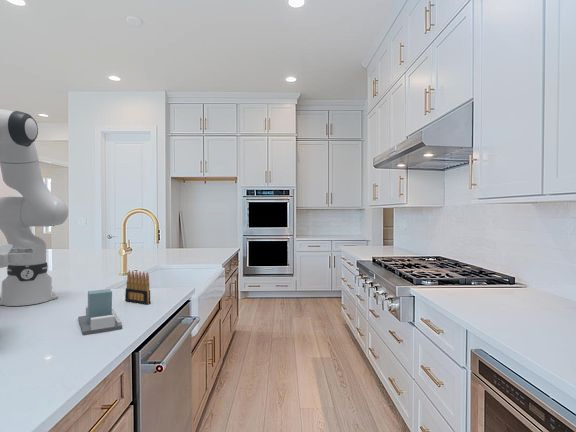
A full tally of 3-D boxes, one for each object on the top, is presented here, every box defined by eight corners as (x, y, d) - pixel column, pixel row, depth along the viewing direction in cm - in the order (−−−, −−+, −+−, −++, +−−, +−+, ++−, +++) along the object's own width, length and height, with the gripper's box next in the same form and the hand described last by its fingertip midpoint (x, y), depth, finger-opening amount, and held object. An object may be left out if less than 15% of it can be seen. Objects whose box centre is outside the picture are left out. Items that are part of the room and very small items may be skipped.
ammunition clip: (150, 303, 129) (151, 271, 129) (146, 304, 127) (147, 272, 127) (128, 300, 132) (129, 269, 132) (124, 301, 131) (125, 270, 131)
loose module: (87, 320, 105) (87, 291, 105) (109, 317, 108) (109, 288, 108) (88, 324, 101) (89, 294, 101) (111, 321, 105) (112, 291, 105)
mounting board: (78, 319, 108) (78, 307, 108) (113, 314, 114) (113, 302, 114) (82, 335, 95) (83, 320, 95) (122, 328, 101) (122, 315, 101)
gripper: (-45, 249, 78) (31, 246, 86) (-29, 240, 95) (33, 238, 103) (-45, 277, 79) (31, 271, 87) (-29, 263, 95) (33, 259, 103)
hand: (32, 253), depth 95 cm, fingers open, 8 cm apart
